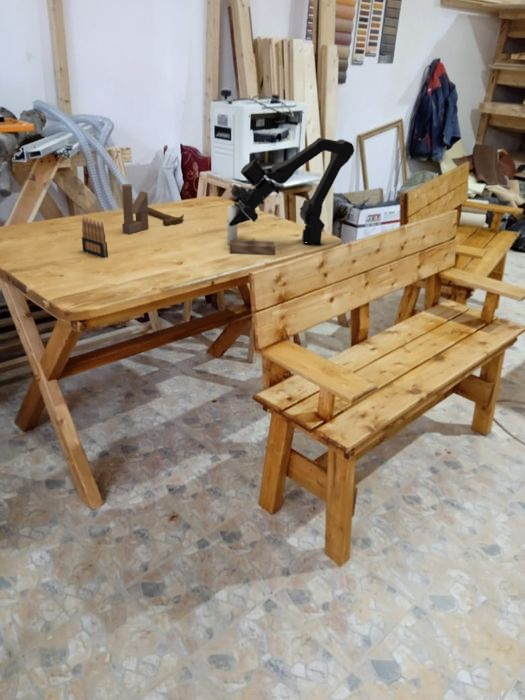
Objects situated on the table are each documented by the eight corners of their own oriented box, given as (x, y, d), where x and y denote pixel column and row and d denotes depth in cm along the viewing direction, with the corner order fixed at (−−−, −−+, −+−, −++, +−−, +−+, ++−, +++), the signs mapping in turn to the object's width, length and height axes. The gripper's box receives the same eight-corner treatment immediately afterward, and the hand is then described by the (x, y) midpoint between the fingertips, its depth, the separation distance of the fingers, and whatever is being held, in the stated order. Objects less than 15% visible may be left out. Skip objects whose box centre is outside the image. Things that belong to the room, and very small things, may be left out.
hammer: (126, 210, 244) (166, 227, 226) (125, 203, 243) (166, 219, 224) (148, 207, 252) (189, 223, 233) (148, 200, 250) (190, 216, 232)
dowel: (236, 240, 211) (237, 205, 205) (237, 243, 208) (238, 207, 202) (227, 239, 210) (228, 205, 204) (227, 242, 207) (228, 207, 201)
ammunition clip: (82, 251, 193) (79, 216, 187) (86, 250, 194) (83, 215, 189) (104, 258, 188) (101, 222, 182) (108, 256, 189) (105, 221, 184)
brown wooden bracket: (148, 229, 221) (147, 182, 212) (129, 234, 213) (126, 186, 204) (142, 227, 223) (140, 180, 214) (122, 232, 214) (119, 184, 206)
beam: (273, 249, 206) (273, 241, 205) (274, 254, 201) (275, 246, 200) (229, 248, 205) (229, 240, 204) (229, 253, 200) (230, 245, 198)
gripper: (239, 172, 207) (209, 202, 210) (250, 182, 191) (217, 215, 194) (259, 193, 212) (230, 222, 215) (271, 205, 196) (239, 237, 199)
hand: (228, 223), depth 206 cm, fingers closed on dowel, 4 cm apart
